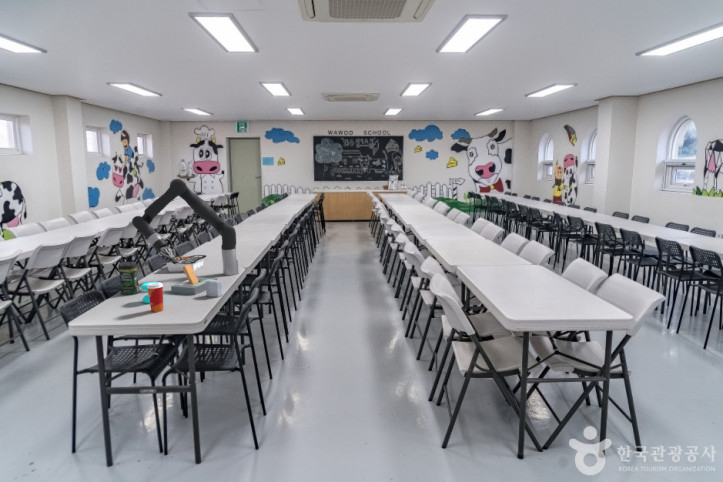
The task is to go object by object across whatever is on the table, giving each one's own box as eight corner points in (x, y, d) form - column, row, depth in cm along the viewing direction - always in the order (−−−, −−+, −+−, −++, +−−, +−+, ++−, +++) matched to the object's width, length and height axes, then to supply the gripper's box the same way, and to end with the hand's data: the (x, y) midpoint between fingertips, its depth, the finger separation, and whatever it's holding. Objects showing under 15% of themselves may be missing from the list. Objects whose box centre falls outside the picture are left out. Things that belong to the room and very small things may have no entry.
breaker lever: (191, 285, 269) (182, 267, 269) (196, 283, 274) (187, 265, 274) (193, 284, 269) (184, 266, 268) (198, 282, 273) (190, 264, 273)
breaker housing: (171, 292, 264) (170, 285, 263) (195, 283, 284) (195, 276, 284) (194, 294, 259) (194, 287, 258) (217, 284, 280) (217, 278, 279)
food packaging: (176, 255, 336) (207, 254, 336) (177, 265, 338) (207, 264, 338) (161, 262, 312) (194, 262, 312) (162, 273, 313) (195, 272, 313)
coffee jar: (118, 295, 261) (114, 263, 258) (125, 291, 269) (122, 260, 265) (135, 295, 261) (132, 263, 257) (142, 291, 268) (138, 260, 265)
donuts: (153, 280, 254) (164, 282, 248) (155, 297, 255) (166, 300, 250) (136, 284, 245) (148, 286, 240) (138, 302, 247) (149, 305, 242)
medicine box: (223, 295, 257) (221, 280, 256) (218, 297, 253) (217, 282, 252) (211, 294, 260) (210, 279, 259) (206, 296, 256) (205, 281, 254)
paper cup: (152, 308, 236) (149, 282, 233) (167, 307, 237) (165, 281, 234) (146, 313, 228) (143, 286, 226) (162, 312, 229) (159, 285, 226)
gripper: (152, 239, 267) (171, 261, 265) (168, 236, 279) (186, 256, 278) (146, 248, 269) (165, 269, 268) (162, 244, 282) (180, 264, 280)
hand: (176, 263), depth 273 cm, fingers closed
